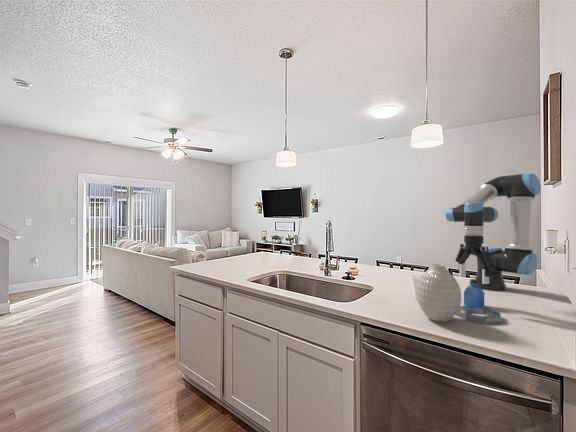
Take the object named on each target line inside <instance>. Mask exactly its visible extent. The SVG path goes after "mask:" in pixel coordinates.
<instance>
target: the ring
mask: <svg viewBox="0 0 576 432" xmlns="http://www.w3.org/2000/svg"><path fill="white" fill-rule="evenodd" d="M472 313H474V314H472ZM477 314H480V315H477ZM482 315H485V316H482ZM454 316H455V317H456V316H457V317H459V318H460V319H462V320H465V321H467V322H468V321H469V322H473V323H478V324H484V325H495V324H502V316H501V313H500V312H499V311H496V310H492V309H490V308H489V307H484V306H483V307H476V306H470V305H469V306H466V305H460V307H459V310H458V311H457V313H456V314H455V315H454Z"/></svg>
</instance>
